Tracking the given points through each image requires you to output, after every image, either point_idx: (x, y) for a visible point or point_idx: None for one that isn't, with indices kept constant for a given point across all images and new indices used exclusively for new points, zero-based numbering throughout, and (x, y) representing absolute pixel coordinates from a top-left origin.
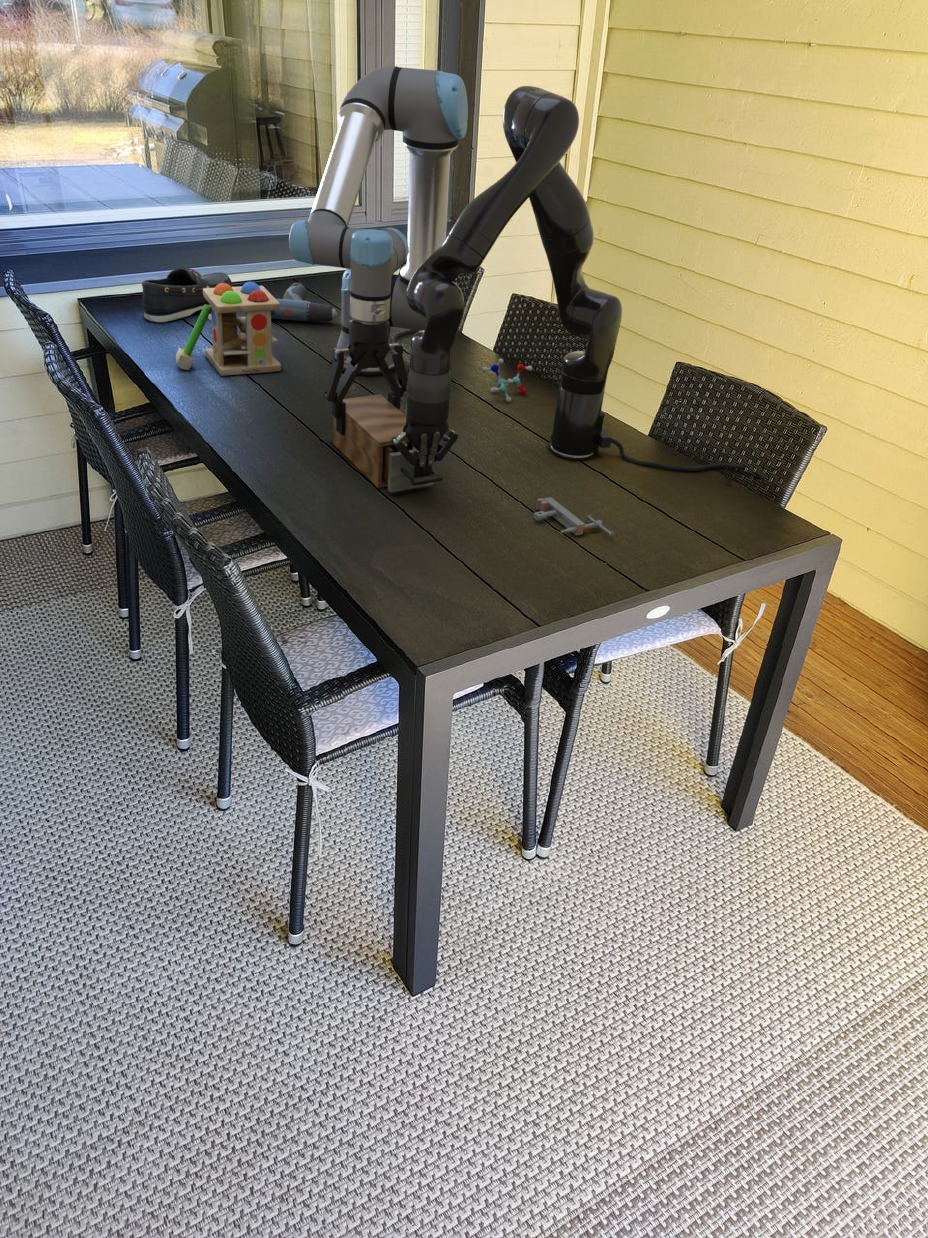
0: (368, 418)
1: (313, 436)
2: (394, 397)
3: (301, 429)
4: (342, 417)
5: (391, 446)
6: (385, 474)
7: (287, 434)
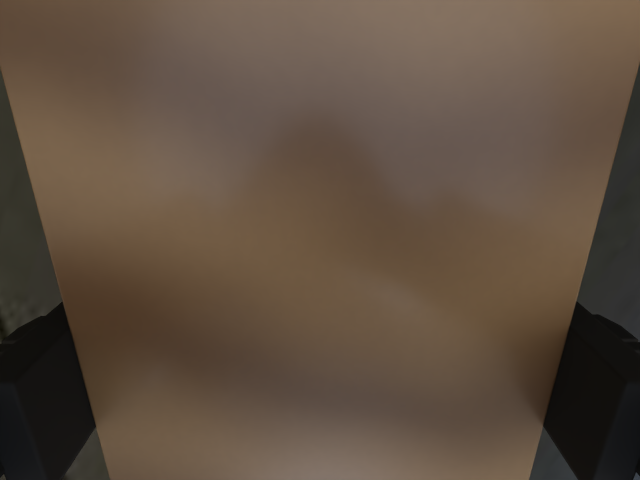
0: (463, 98)
1: None
2: (5, 380)
3: None
4: None
5: None
6: None
7: (543, 435)
